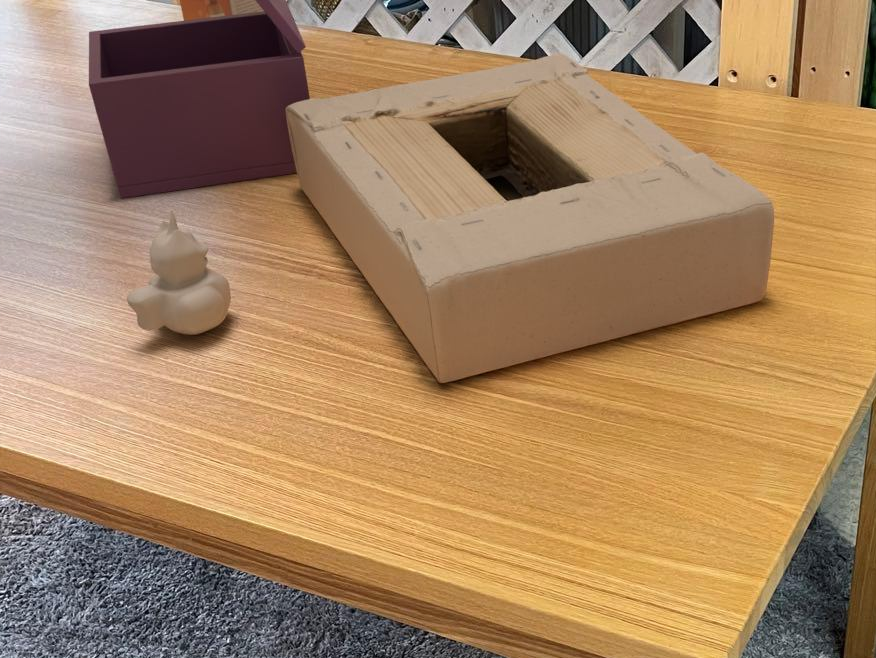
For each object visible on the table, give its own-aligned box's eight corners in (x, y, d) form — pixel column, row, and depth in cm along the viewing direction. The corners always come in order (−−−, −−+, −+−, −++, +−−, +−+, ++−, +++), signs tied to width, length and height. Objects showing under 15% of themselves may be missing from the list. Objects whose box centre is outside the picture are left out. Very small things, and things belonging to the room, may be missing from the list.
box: (292, 193, 92) (437, 392, 69) (276, 93, 87) (426, 272, 64) (560, 141, 99) (771, 306, 76) (559, 46, 94) (784, 192, 72)
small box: (192, 66, 115) (166, -51, 108) (237, 51, 118) (215, -64, 111) (244, 83, 111) (221, -37, 104) (289, 66, 114) (270, -51, 107)
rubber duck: (254, 327, 76) (229, 211, 71) (162, 365, 73) (129, 247, 68) (212, 298, 79) (185, 184, 74) (122, 333, 76) (87, 218, 71)
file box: (120, 198, 92) (88, 83, 86) (117, 138, 101) (88, 31, 95) (321, 169, 95) (303, 56, 89) (300, 114, 104) (283, 8, 98)
